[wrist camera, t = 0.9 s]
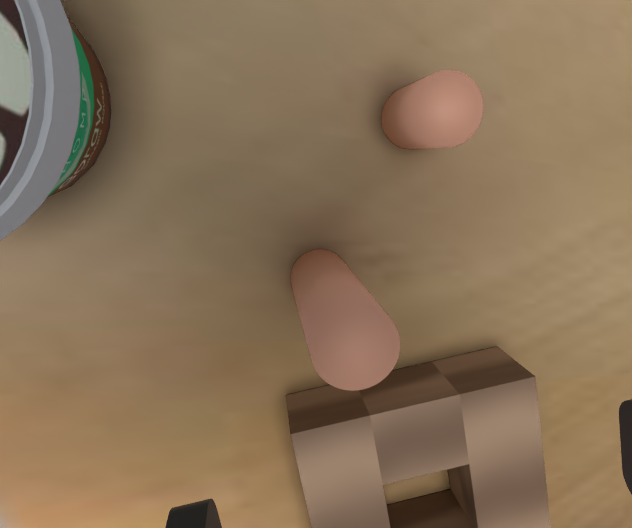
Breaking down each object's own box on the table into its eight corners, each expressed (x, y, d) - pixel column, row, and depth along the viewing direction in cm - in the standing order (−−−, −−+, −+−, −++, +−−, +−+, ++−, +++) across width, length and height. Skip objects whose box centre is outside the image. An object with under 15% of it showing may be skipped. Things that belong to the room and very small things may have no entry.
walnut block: (285, 395, 28) (290, 434, 24) (497, 346, 28) (535, 376, 25) (326, 577, 30) (336, 639, 26) (518, 528, 31) (555, 580, 27)
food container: (110, 259, 25) (19, 325, 15) (-23, 229, 24) (-211, 279, 14) (161, -2, 23) (92, -116, 13) (17, -47, 22) (-171, -205, 12)
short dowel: (376, 92, 25) (406, 77, 20) (436, 81, 25) (478, 63, 20) (386, 154, 26) (416, 154, 21) (444, 142, 26) (487, 139, 21)
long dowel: (284, 255, 26) (302, 315, 16) (342, 243, 26) (392, 295, 17) (296, 310, 27) (319, 399, 17) (352, 298, 27) (406, 379, 17)
